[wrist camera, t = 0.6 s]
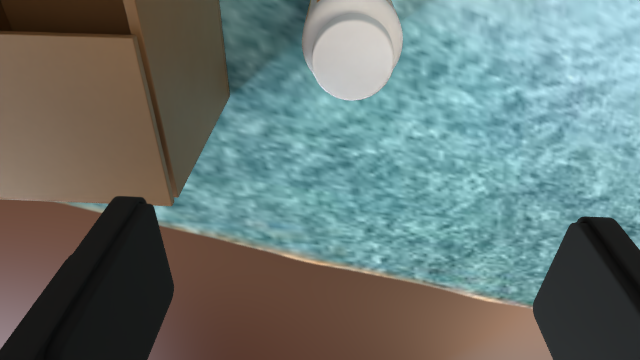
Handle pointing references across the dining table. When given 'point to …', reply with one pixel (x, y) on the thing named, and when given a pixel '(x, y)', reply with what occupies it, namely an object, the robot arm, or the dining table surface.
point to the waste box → (107, 97)
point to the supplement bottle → (352, 45)
